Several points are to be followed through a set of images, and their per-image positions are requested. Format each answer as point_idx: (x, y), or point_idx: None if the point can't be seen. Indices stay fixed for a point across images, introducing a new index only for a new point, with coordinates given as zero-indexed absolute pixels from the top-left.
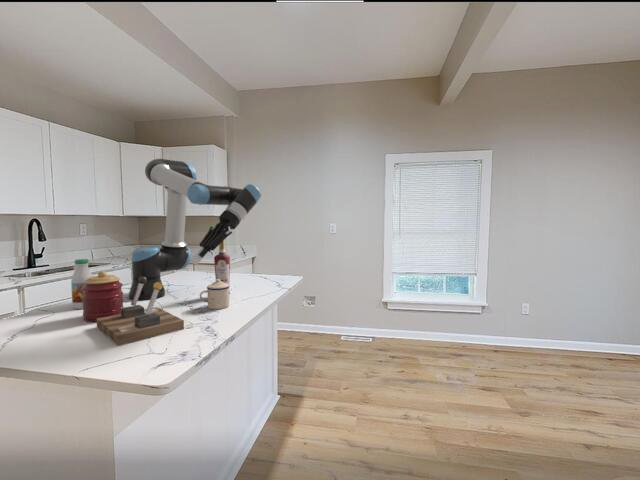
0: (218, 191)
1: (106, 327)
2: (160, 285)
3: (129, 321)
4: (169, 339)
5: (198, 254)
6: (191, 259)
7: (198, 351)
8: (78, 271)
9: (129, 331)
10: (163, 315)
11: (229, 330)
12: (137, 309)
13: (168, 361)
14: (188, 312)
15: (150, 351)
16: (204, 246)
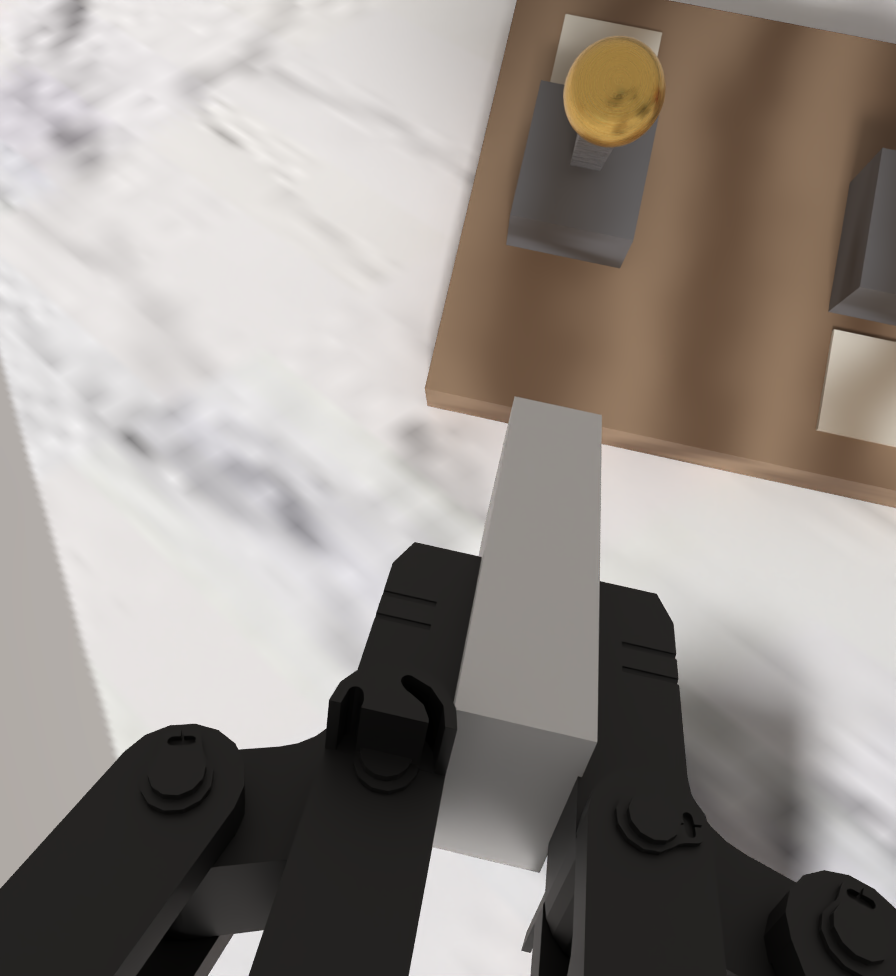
0: None
1: (766, 23)
2: (567, 83)
3: (753, 160)
4: (340, 232)
5: (483, 551)
6: (547, 422)
7: (28, 205)
8: None
9: (538, 50)
10: (676, 381)
11: (109, 558)
12: (864, 238)
13: (73, 45)
14: (759, 702)
15: (274, 69)
16: (358, 697)
